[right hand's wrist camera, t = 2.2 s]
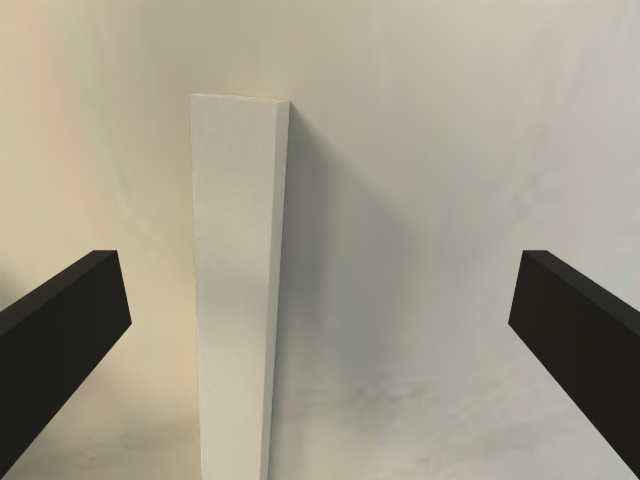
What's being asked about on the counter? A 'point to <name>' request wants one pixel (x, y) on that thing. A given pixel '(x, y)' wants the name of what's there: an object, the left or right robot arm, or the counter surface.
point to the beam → (237, 274)
